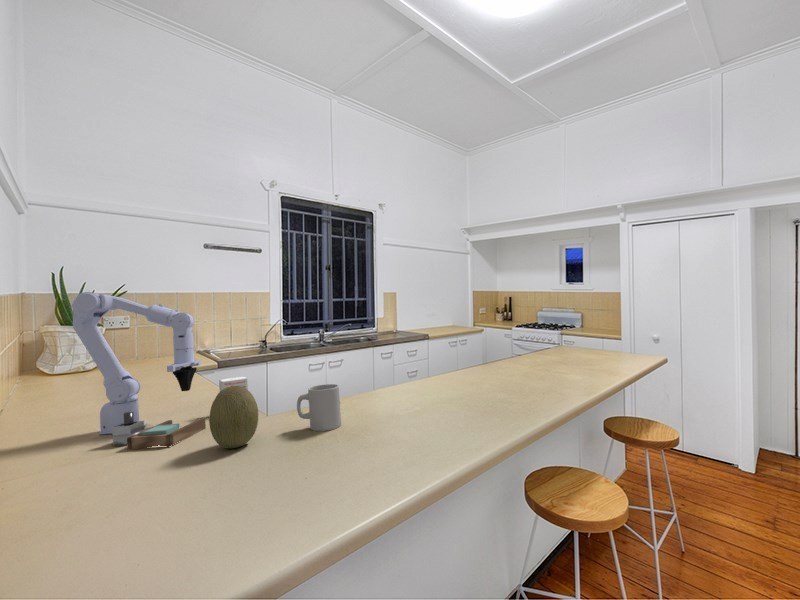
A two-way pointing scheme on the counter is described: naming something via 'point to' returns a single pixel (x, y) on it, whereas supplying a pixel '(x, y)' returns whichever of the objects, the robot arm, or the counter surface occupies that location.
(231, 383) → the ink box
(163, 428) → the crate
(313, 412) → the mug
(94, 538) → the counter surface
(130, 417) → the pin
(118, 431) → the grey piece
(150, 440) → the bay
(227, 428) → the fruit
